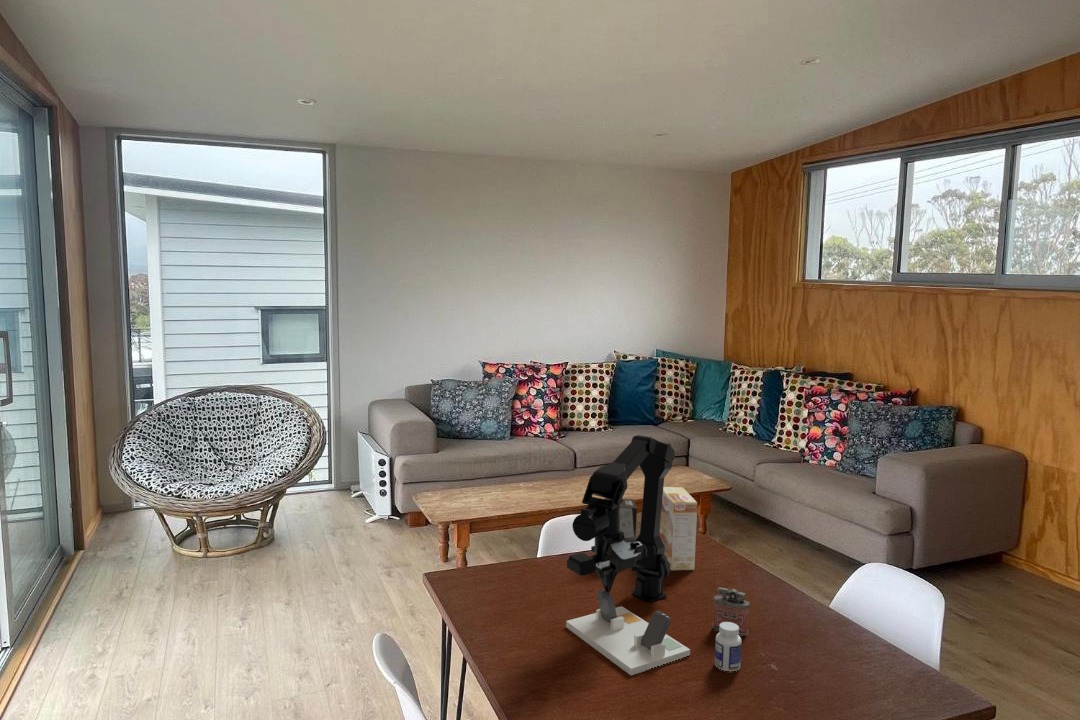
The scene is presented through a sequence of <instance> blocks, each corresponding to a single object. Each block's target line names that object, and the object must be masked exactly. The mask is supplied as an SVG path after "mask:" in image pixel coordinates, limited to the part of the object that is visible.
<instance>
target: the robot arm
mask: <svg viewBox="0 0 1080 720" xmlns="http://www.w3.org/2000/svg"><path fill="white" fill-rule="evenodd" d="M675 455H676V452H675V449H674V448H673V447H672V445H671V444H670V443H665V442H661V441H659V440H657V439H655V438H653V437H652V436H646V435H641V434H640V435H639V434H637V435H634V436H632V438H631V442H629V444H628V445H627V446H626V447H625V448H624V449H623V450H622V451H621V453H620V454H619V455H618V456H617V457H616V458H615V459H614V461H612V462H611V463H610V464H609V463H608V464H606V465H602V466H600V467H599V468H597V469H596V470H595V471H593V473H592V474H591V475H590V478H589V479H588V483H587V486H586V489H585V492H584V494H583V497H582V500H581V504H582V505H583V504H584V505H587V506H586V507H583V508H581V509H580V514H578V515H576V516H575V518H574V519H573V522H572V525H571V526H572V531H573V534H575V536H576V537H577V538H578V539H579V540H581V541H583V542H588V541H589V542H590V541H591V540H593V539H594V545H592V546H591V548H590V549H591V552H593V553H594V555H593V554H592V555H588V554H586V553H584V552H577V553H574V554H571V555H569V556H568V557H567V558H566V568H567V569H569V570H570V571H572V572H573V573H575V574H577V575H579V576H583V577H584V576H587V575H591V574H593V573H594V572H596V574H597V575H598V577H599V580H600V582H601V584H602V586H603V589H604V590H605V591H607V592H608V593H610V594H611V590H612V588H613V585H614V583H615V580H616V577H617V574H618V573H619V571H626V569H630V570H631V572H636V578H635V581H634V582H635V585H634V587H635V588H634V590H631V594H633V595H634V596H636V597H638V598H640V599H641V600H643V601H645V602H646V603H651V602H654V601H658V600H661V599H665V598H668V595H667V594H666V593H664V578H668V577H669V574H670V572H671V570H670V563H669V562H668V560H667V558H666V556H665V546H664V544H663V542H662V540H661V538H660V535H659V532H660V520H661V509H662V497H663V487H665V486H664V484H665V483H664V482H665V478H666V476H667V475H668V474H669V472H670V471H671V470H672V467H673V462H674V460H675ZM638 467H639V468H640V470H641V471H642V473H643V476H644V482H643V494H642V503H641V505H642V506H641V515H640V516H641V517H640V527H639V534H638V536H637V537H636V540H634V539H629V540H625V539H624V532H622V531H620V504H621V503H622V502H623V499H624V495H625V493H626V491H627V490H628V479H629V478H630V477H631V476H632V474H633V473H634V472H635V471H636V470H637V468H638Z"/></svg>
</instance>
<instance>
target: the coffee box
mask: <svg viewBox="0 0 1080 720" xmlns="http://www.w3.org/2000/svg"><path fill="white" fill-rule="evenodd" d="M622 499H623V502H622V503H621V504H620V531H622V532H624V539H625V540H629V539H634V540H636V538H637V537H636V536H637V518H638V516H637V515H638V507H637V505H636V502H635V500H634V498H622Z"/></svg>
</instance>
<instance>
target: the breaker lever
mask: <svg viewBox="0 0 1080 720" xmlns="http://www.w3.org/2000/svg"><path fill="white" fill-rule="evenodd" d="M596 595H597V600H598V606H599V609H600V611H601V615H602V618H603V619H604V620H606V621H607V622H609V623H610V624H611V619H614V618H617V614H616V610H615V608H616V605H615V600H614V596H613V595H612V594H611V592H610V593H608V592H607V591H605V588H599V589H598V590H597V593H596Z"/></svg>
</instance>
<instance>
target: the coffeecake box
mask: <svg viewBox="0 0 1080 720" xmlns="http://www.w3.org/2000/svg"><path fill="white" fill-rule="evenodd" d="M697 511H698V502H697V501H696V500H695V498H694V497H692V495H690V493H689V492H688V491H687V490H686V489H685V488H684V487H682V486H663V497H662V509H661V520H660V532H659V535H660V538H661V540H662V542H663V544H664V546H665V556H666V558H667V560H668V562H669V563H670V571H694V570H695V563H696V562H695V561H696V559H695V558H696V538H697V516H698V514H697V513H698V512H697Z"/></svg>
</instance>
